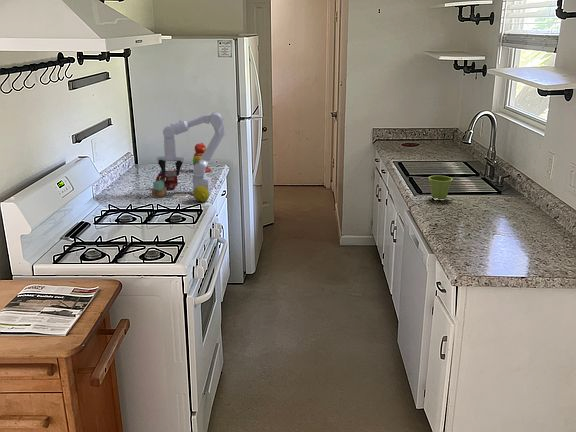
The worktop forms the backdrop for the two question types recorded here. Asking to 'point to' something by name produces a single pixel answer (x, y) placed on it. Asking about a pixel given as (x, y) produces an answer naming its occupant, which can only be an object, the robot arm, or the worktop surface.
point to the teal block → (158, 185)
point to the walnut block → (159, 193)
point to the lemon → (201, 193)
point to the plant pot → (440, 186)
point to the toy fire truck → (168, 179)
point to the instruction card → (181, 195)
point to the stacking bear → (200, 155)
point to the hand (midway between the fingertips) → (171, 174)
